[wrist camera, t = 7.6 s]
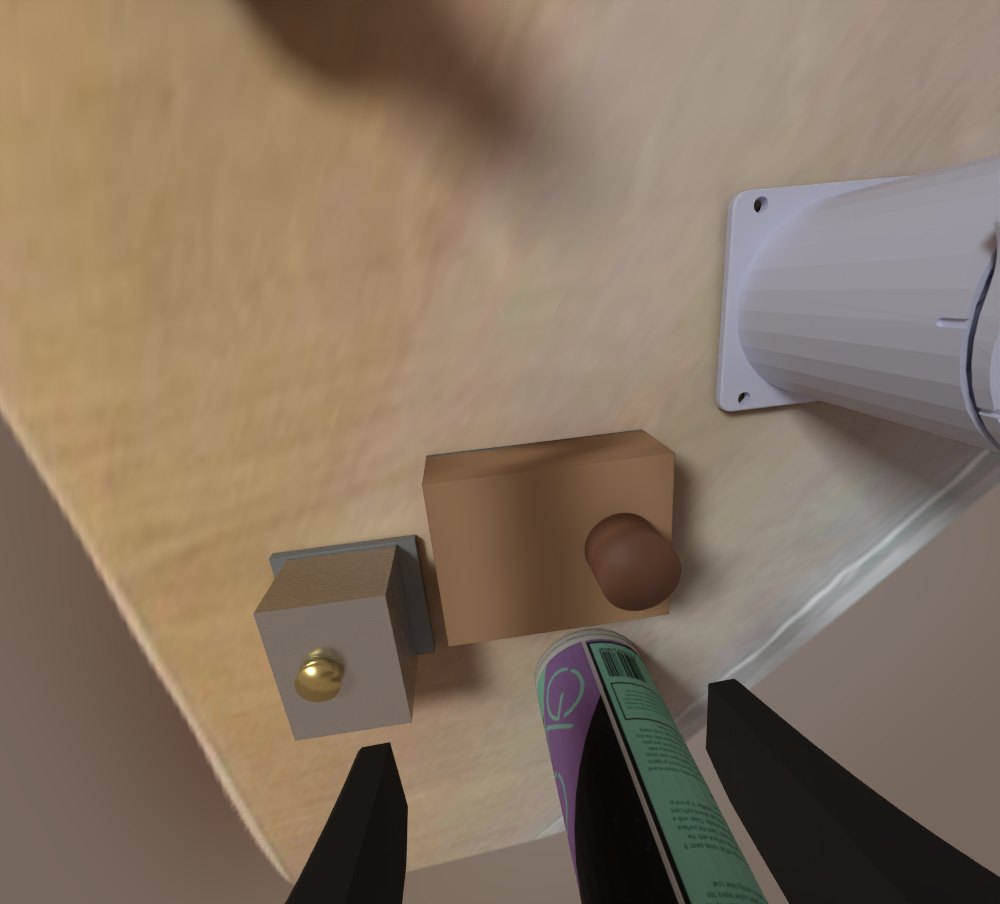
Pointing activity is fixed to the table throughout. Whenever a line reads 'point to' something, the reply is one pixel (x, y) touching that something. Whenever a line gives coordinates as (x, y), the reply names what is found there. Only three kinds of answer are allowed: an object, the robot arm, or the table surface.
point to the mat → (409, 573)
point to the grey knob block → (341, 641)
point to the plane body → (552, 534)
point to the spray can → (632, 783)
